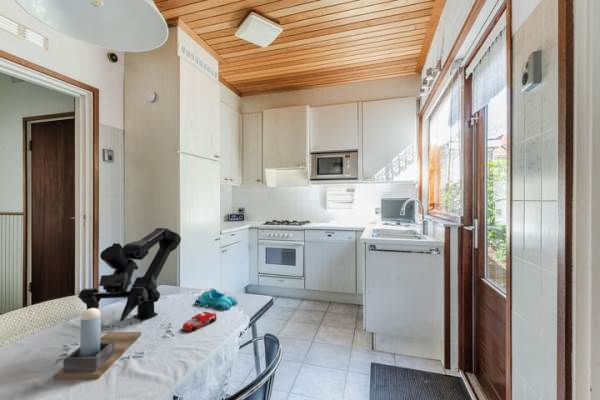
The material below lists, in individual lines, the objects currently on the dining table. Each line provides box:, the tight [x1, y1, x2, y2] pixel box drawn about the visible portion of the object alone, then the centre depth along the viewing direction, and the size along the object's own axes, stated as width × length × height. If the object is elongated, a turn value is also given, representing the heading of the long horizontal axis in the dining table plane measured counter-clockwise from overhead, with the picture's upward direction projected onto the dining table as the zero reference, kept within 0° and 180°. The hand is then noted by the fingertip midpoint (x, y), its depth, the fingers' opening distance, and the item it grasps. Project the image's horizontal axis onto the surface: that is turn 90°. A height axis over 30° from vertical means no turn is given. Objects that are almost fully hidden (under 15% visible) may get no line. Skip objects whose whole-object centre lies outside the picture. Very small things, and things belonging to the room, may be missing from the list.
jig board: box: [53, 331, 142, 381], centre depth 80 cm, size 22×11×5 cm, turn 5°
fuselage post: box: [79, 308, 102, 357], centre depth 74 cm, size 4×4×15 cm
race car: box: [182, 311, 217, 333], centre depth 100 cm, size 13×5×4 cm, turn 144°
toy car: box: [194, 288, 238, 311], centre depth 120 cm, size 11×18×7 cm, turn 70°
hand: (104, 322), depth 81 cm, fingers open, 9 cm apart
